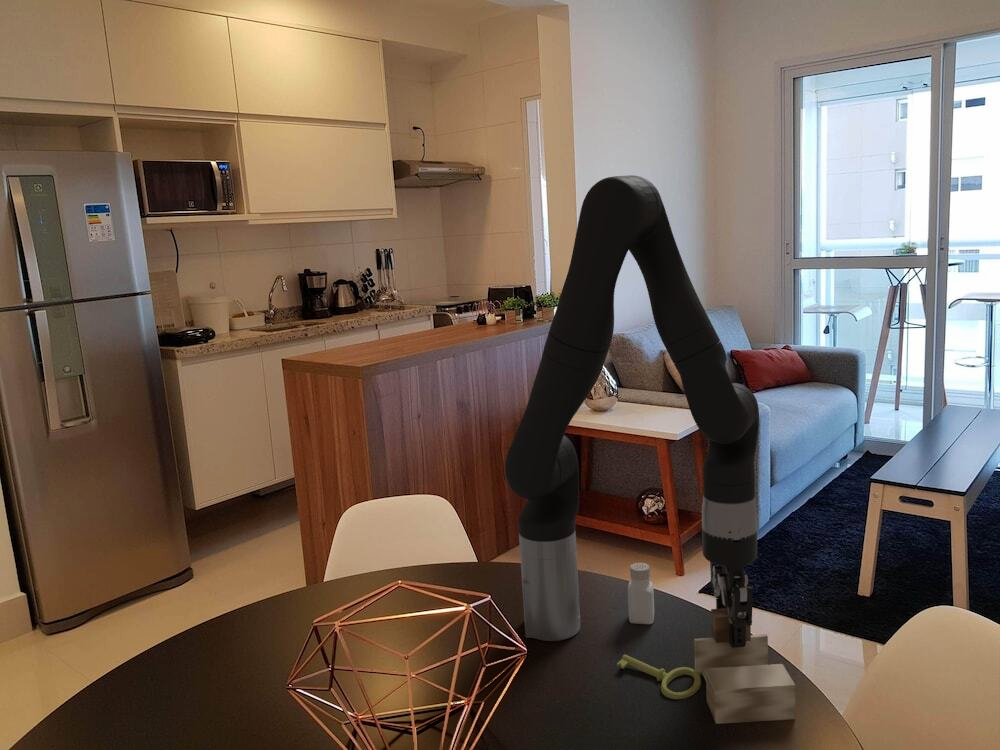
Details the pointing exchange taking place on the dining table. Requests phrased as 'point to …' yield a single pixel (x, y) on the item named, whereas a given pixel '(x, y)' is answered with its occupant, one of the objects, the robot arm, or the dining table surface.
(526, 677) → the dining table surface
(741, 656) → the stacked wooden blocks
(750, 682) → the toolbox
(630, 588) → the salt shaker
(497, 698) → the dining table surface
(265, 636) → the dining table surface
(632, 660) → the key
